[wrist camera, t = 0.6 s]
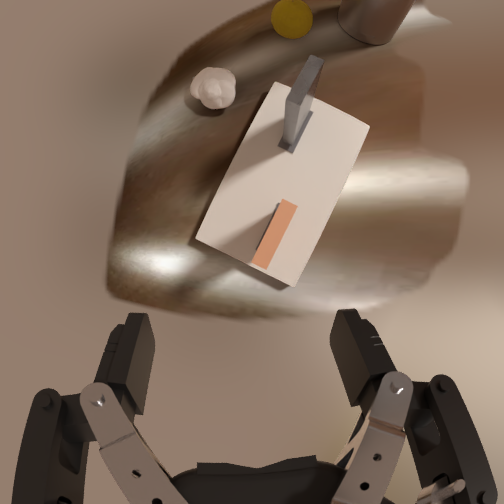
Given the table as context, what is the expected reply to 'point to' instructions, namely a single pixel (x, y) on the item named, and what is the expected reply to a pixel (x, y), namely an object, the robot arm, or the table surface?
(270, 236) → the terracotta paddle
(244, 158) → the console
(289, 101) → the grey paddle
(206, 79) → the dumpling
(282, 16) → the lemon
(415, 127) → the table surface
